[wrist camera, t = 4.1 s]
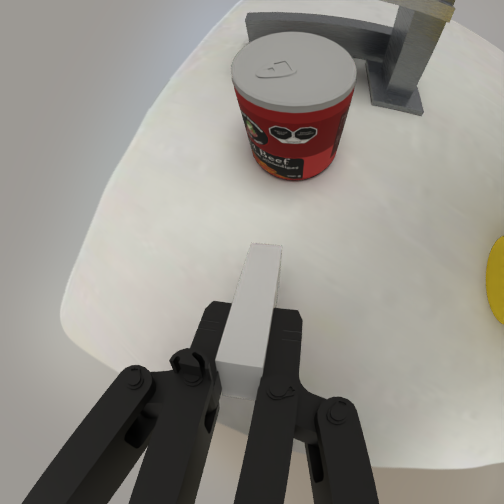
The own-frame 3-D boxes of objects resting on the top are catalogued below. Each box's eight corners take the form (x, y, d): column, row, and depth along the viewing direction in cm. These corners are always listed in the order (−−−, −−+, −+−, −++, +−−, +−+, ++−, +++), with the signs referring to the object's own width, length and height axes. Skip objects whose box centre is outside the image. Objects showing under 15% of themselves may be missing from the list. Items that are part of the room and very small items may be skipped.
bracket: (421, 115, 24) (479, 12, 8) (241, 93, 26) (206, -32, 11) (405, 59, 25) (437, -33, 9) (253, 41, 28) (231, -61, 12)
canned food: (236, 142, 25) (207, 61, 15) (301, 103, 25) (301, 19, 15) (285, 200, 24) (281, 130, 13) (352, 154, 24) (382, 75, 13)
